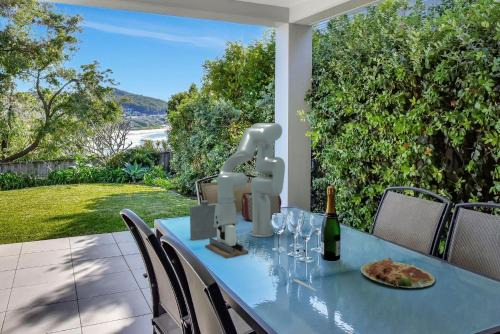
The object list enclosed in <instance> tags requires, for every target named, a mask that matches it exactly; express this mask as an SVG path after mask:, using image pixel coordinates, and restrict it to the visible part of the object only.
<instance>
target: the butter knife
mask: <svg viewBox="0 0 500 334" xmlns="http://www.w3.org/2000/svg"><path fill="white" fill-rule="evenodd" d="M292 281H294V282H295V283H297V284H299V285H301V286H304V287H306V288H307V289H311V290H313V291H315V292H317V291H318V289H315V288H314V287H312V286H311V285H308V284H307V283H305V282H303V281H301V280H299V279H296V278H295V279H293V280H292Z"/></svg>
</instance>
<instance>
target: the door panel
mask: <svg viewBox="0 0 500 334" xmlns="http://www.w3.org/2000/svg"><path fill="white" fill-rule="evenodd" d="M218 226H219V224H218ZM224 232H225V240H222V239H221V238H220V231H219V230H218V229H217V237H216V240H217V241H219V242H222V243H224V244H226V245H228V246H234V245H236V241H237V240H236V225H235V226H234V225H231V224H229V225H224Z"/></svg>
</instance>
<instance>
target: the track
mask: <svg viewBox="0 0 500 334" xmlns="http://www.w3.org/2000/svg"><path fill="white" fill-rule="evenodd" d="M204 246H205V247H204V248H206V249H208V250H209V251H211V252H213V253H214V254H217V255H218V256H221V257H223V258H224V259H229V258H236V257H239V256H244V255H249V250H247V249H245V245H243V244H241V243H239V242H236V245H234V246H228V245H226V244H224V243H222V242H220V241H218V240H217V239H214V238H209V243H208V244H205V245H204Z"/></svg>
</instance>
